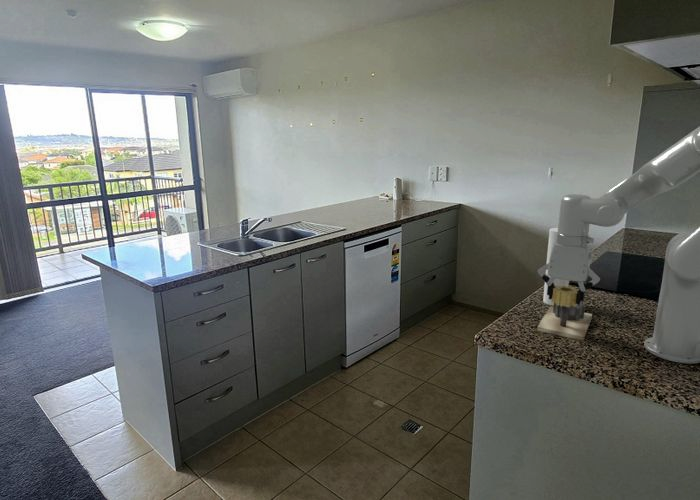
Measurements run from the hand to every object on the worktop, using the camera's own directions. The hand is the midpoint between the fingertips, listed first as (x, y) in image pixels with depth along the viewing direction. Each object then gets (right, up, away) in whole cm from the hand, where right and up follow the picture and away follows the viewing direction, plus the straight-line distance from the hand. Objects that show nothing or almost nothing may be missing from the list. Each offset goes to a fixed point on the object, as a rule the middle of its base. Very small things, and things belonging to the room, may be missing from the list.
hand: (564, 299), depth 122 cm
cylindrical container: (+8, -4, +22) cm, 24 cm away
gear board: (+3, -8, +6) cm, 10 cm away
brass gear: (0, -1, 0) cm, 1 cm away
